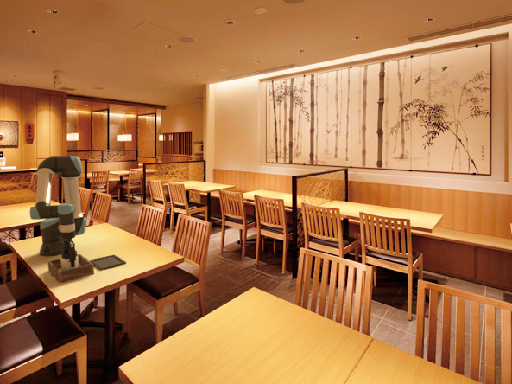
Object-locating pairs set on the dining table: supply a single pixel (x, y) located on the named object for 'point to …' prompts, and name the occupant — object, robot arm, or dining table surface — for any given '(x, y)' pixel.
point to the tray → (107, 262)
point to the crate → (70, 269)
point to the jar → (65, 259)
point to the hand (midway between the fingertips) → (70, 269)
